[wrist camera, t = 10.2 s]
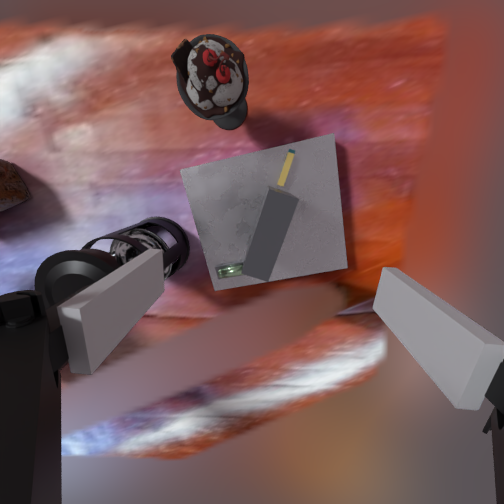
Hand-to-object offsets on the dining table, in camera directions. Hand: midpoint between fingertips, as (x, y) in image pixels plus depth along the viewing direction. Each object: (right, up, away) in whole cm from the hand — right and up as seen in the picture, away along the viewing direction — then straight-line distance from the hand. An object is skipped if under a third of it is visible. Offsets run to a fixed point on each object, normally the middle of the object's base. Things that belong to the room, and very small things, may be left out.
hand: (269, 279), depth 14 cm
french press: (-16, +3, +24) cm, 29 cm away
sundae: (-4, +21, +17) cm, 27 cm away
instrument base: (+1, +7, +21) cm, 22 cm away
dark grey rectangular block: (+2, +8, +17) cm, 19 cm away
